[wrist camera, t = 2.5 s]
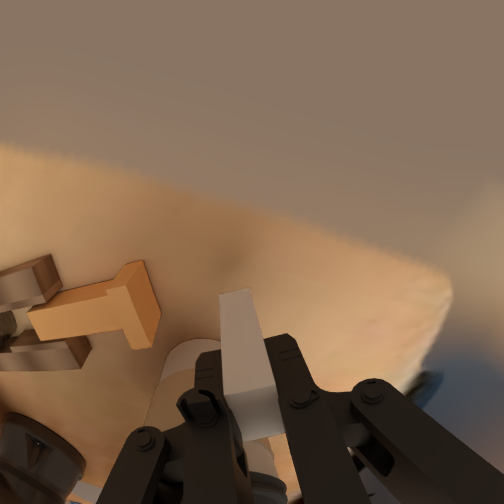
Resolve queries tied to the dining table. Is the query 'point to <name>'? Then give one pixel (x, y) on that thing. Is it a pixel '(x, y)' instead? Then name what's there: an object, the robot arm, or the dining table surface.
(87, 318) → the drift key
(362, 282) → the dining table surface
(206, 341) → the coffee cup
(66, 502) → the ink box
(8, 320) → the dark grey cylinder
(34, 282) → the socket block
